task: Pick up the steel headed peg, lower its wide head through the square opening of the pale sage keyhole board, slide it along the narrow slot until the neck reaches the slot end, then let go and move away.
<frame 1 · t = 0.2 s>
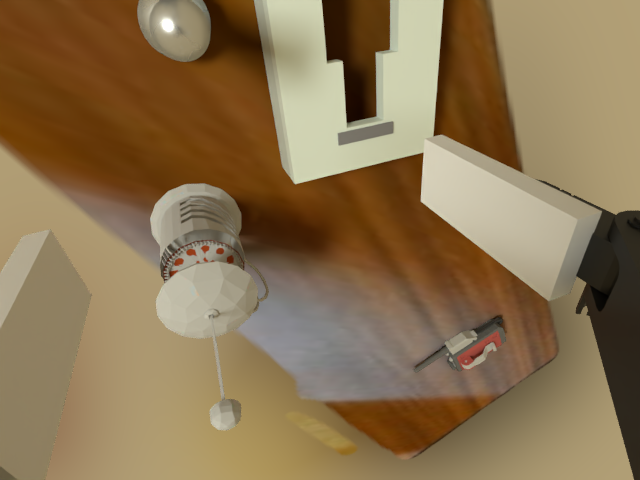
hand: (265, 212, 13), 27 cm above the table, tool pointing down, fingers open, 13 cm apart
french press: (205, 226, 42), on the table
steel peg: (175, 20, 31), on the table
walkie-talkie: (455, 345, 74), on the table
keyhole board: (342, 57, 37), on the table
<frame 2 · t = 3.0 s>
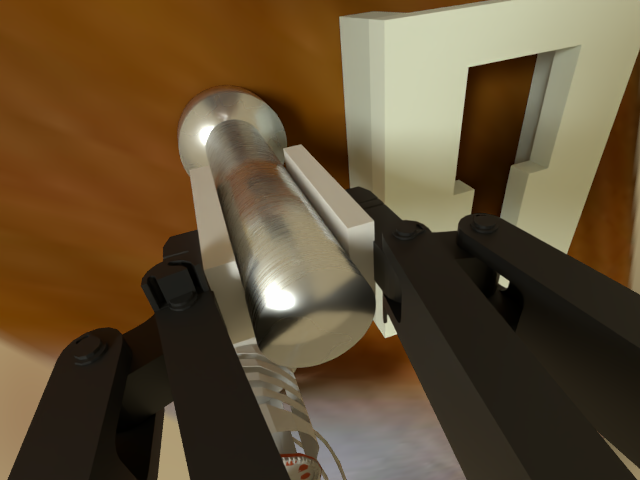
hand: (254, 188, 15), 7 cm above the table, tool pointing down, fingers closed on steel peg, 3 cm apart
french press: (251, 371, 31), on the table
steel peg: (230, 137, 21), on the table, touching gripper
keyhole board: (451, 161, 27), on the table
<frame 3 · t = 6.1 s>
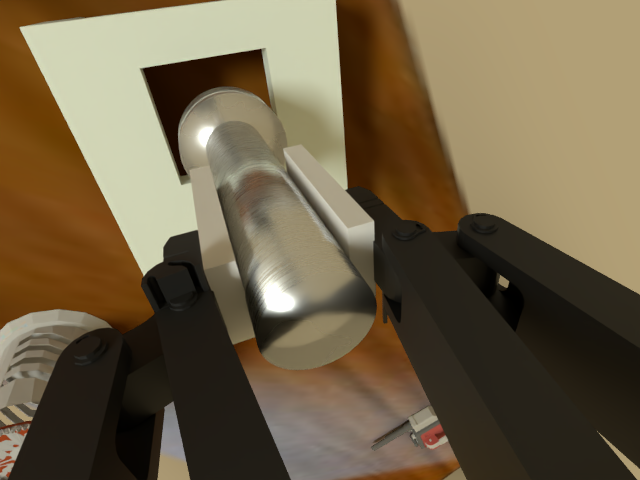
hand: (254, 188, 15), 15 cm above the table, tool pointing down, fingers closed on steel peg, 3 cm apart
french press: (71, 351, 34), on the table
steel peg: (230, 138, 21), point 8 cm above the table, touching gripper
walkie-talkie: (420, 418, 66), on the table
keyhole board: (226, 154, 29), on the table
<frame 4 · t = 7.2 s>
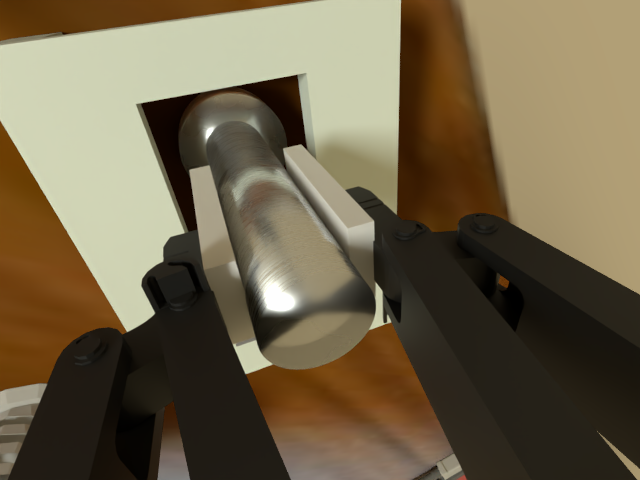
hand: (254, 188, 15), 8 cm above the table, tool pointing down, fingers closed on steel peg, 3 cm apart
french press: (56, 427, 28), on the table
steel peg: (230, 138, 21), on the table, touching gripper
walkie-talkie: (448, 462, 60), on the table
keyhole board: (244, 197, 23), on the table
when the fingers open (7 cm above the table, at t = 10.0 s): steel peg stays where it is, on the table.
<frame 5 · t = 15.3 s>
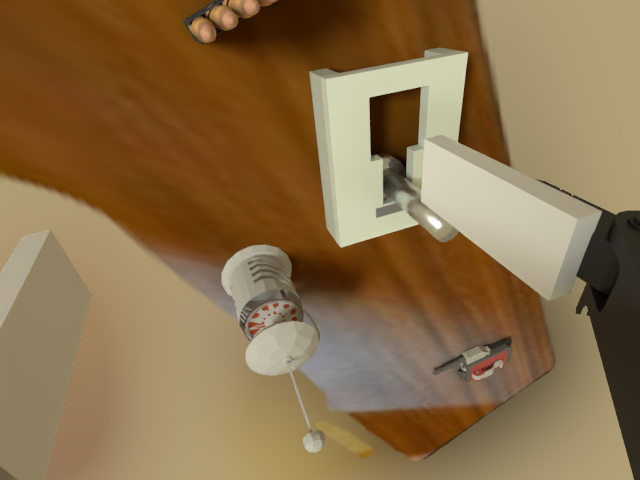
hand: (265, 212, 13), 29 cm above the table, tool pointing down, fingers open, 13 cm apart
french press: (262, 276, 51), on the table
steel peg: (379, 173, 49), on the table
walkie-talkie: (467, 358, 83), on the table
ammunition clip: (238, 0, 34), on the table
keyhole board: (378, 145, 46), on the table
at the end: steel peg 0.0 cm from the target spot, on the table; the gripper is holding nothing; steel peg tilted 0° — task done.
